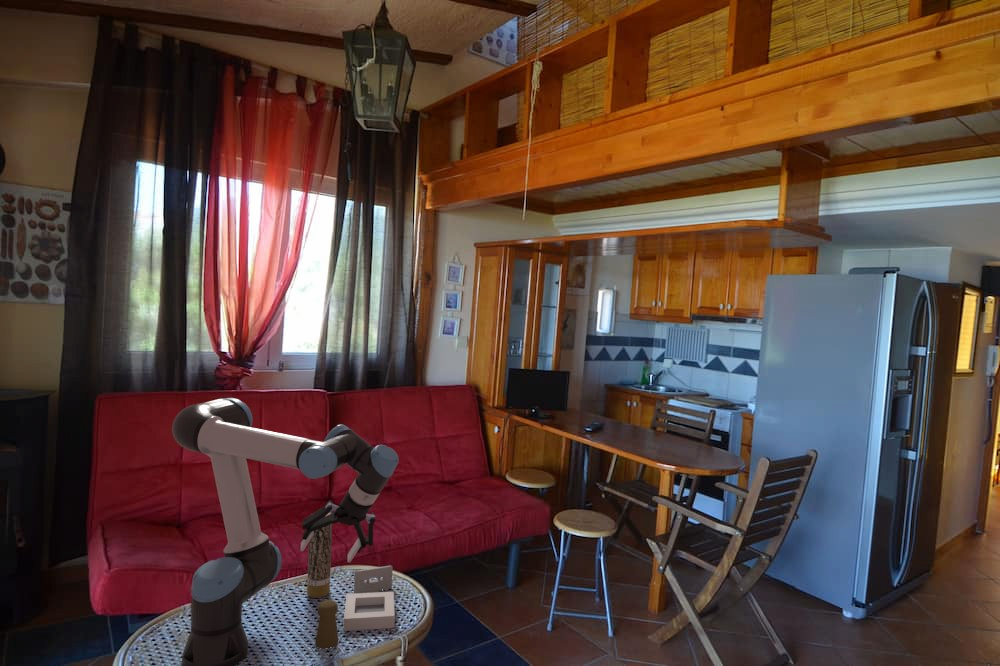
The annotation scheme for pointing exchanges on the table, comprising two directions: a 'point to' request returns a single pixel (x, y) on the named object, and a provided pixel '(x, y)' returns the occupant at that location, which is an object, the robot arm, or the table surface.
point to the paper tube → (319, 562)
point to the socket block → (369, 611)
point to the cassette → (373, 585)
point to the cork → (327, 625)
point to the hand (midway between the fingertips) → (325, 553)
